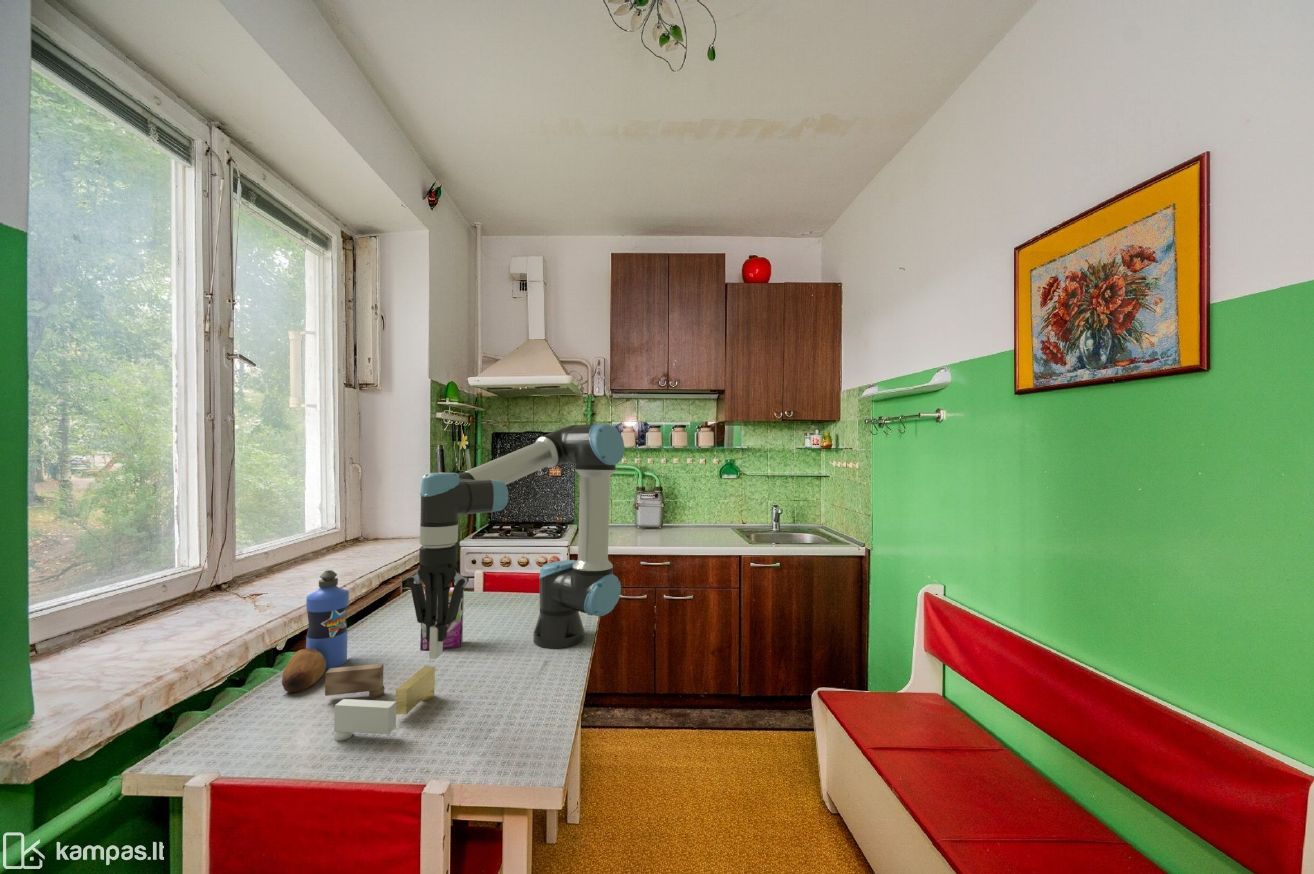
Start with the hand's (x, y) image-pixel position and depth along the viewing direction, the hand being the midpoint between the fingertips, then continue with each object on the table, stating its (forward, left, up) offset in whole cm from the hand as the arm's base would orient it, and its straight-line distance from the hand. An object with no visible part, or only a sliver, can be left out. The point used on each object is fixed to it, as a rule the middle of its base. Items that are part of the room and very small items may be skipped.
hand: (435, 655), depth 107 cm
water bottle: (+41, -21, -13) cm, 48 cm away
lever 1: (+21, -5, -12) cm, 25 cm away
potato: (+38, -10, -14) cm, 42 cm away
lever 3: (+5, -2, -12) cm, 13 cm away
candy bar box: (+18, -37, -14) cm, 44 cm away
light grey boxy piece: (+9, +10, -12) cm, 18 cm away
